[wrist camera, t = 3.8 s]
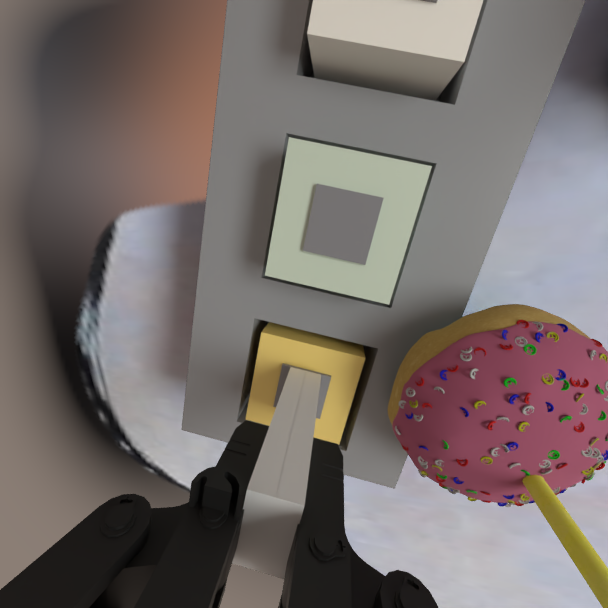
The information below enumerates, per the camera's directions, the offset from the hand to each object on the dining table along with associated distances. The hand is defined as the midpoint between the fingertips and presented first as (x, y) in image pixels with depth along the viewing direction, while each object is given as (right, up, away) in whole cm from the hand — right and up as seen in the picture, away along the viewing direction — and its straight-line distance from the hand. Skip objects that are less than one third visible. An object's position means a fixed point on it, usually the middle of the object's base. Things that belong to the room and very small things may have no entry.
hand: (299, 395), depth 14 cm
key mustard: (0, +1, +3) cm, 3 cm away
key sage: (+2, +8, 0) cm, 8 cm away
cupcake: (+8, +2, +3) cm, 9 cm away
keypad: (+2, +9, +2) cm, 9 cm away
